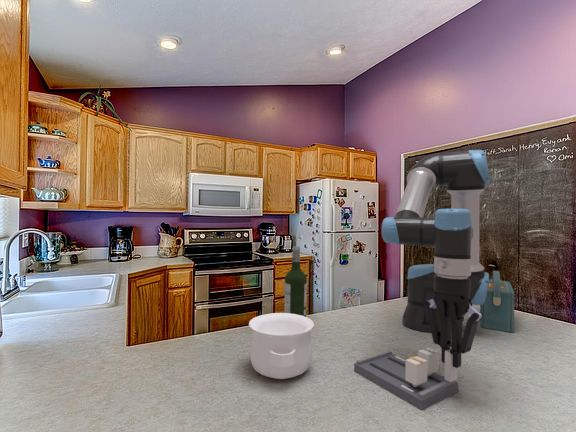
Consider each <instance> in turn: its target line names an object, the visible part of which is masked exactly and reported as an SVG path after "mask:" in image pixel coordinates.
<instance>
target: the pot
mask: <svg viewBox="0 0 576 432" xmlns="http://www.w3.org/2000/svg"><path fill="white" fill-rule="evenodd" d="M248 327H249V328H250V330H252V333H251V338H250V346H249V359H250V362H251V366H252V368H253V369H254V370H255V372H257V373H259V374H260V375H261V376H263V377H267V378H271V379H276V380H287V379H292V378H294V377H297V376H300V375H302V374H303V373H305V372H306V371H307V370H308V369H309V367H310V364H311V361H312V357H313V342H312V340H313V339H312V334H311V331H312V330H313V329H314V327H315V323H314V322H313V320H312V319H311V318H309V317H307V316H306V317H304V316H302V315H297V314H291V313H284V312H274V313H273V312H272V313H266V314H260V315H258V316H255V317H253V318H251V319H250V320H249V323H248Z"/></svg>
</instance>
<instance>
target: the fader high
mask: <svg viewBox="0 0 576 432" xmlns="http://www.w3.org/2000/svg"><path fill="white" fill-rule="evenodd" d="M417 354H418V355H417V356H418V357H420V358H422V359H425V360H427V376H430V375H432V373H434V372H435V373H437V372H438V371H439V367H440V366H439V359H440V357H439V354H440V352H439V350H436V349H433V348H430V347H426V348H425V347H422V349H420V350H417Z"/></svg>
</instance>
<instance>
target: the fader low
mask: <svg viewBox="0 0 576 432" xmlns="http://www.w3.org/2000/svg"><path fill="white" fill-rule="evenodd" d="M405 380H406V381H408V382H410V383H412V386H413V387H415V388H416V387H418V386H420V384H421V383H424V382H426V381H427V360H425V359H422V358H420V357H418V355H416V356H409V358H407V359H406V370H405Z"/></svg>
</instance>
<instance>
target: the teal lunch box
mask: <svg viewBox="0 0 576 432" xmlns="http://www.w3.org/2000/svg"><path fill="white" fill-rule="evenodd" d="M479 312H482V313H483V317H482V318H481V320H480V321H479V327H480V328H482V329H488V330H494V331H499V332H504V333H505V332H506V333H514V332H515V291H514V289H513V287H512V284H511V282H510V281H508V280H501V273H500V271H499V270H492V278H490V279H489V280H488V288H487V294H486V299H485V302H484V304H482V305H479Z"/></svg>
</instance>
